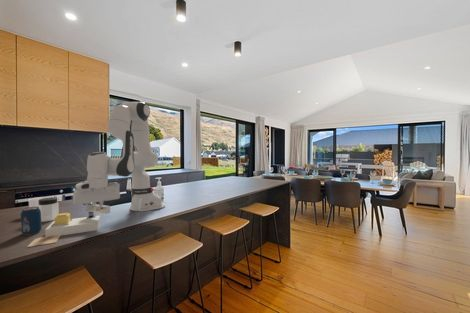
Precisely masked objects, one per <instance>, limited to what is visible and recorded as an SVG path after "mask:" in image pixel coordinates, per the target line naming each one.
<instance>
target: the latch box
mask: <svg viewBox="0 0 470 313" xmlns="http://www.w3.org/2000/svg"><path fill="white" fill-rule="evenodd" d="M100 225H101V215H94V217H89V216H86V217H85V216H84V217H83V216H82V217H78V218H77V217H75V218H70V222H69V223H66V224H59V225H55V220H53V221H52V222H51V223H50V224H49V225H48V226H46V228H45V229H44V232H45V236H44V237H50V236H56V235H61V236H68V235H74V234H80V233H87V232H88V233H89V232H95V231H98V230H99V228H100ZM61 236H60V237H61Z"/></svg>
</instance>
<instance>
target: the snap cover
mask: <svg viewBox="0 0 470 313" xmlns="http://www.w3.org/2000/svg"><path fill="white" fill-rule="evenodd" d="M54 219H55V220H54V221H55V225H59V224H66V223H69V222H70V219H71V213H69V212H63V213H59V214H58V215H57V216H56V217H55V218H54Z"/></svg>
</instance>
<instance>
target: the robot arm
mask: <svg viewBox="0 0 470 313" xmlns="http://www.w3.org/2000/svg"><path fill="white" fill-rule="evenodd" d="M150 114H151V108H150V106H149V104H147V103H146V102H143V101H129V102H119V103H116V104H115V106H114V107H113V109H112V111H111V113H110V116H109V119H108V123H107V131H108V133H109V134H110V135H111V137H114V138H116V139H117V140H120V141H121V142H122V156H121V157H115V158H114V157H111V156H109V155H108V154H107V152H105V151H94V152H90V153H89V154H88V156H87V159H86V160H87V161H86V171H87V177H86V180H84V181H82V182H79V183H76V184H75V190H74V191H73V194H72V204H73V205H74V206H79V205H85V204H88V203H92V205H93V206H94V210H95V211H99V210H101V206H102V205H104V202H107V201H113V200H114V201H115V200H119V199H120V198H121V191H120V189H121V184H120V183H119V182H117V181H114V182H112V181H110V182H109V178H108V176H114V177H115V176H118V177H123V178H124V177H129V176H131V190H130V191H131V194H130V195H131V204H130V207H129V210H130V211H134V212H146V211H153V210H157V209H158V210H159V209H164V208H165V207H166V204H165V203H164V202H163V201H162V198H161V196H159V194H157V193H155V192H154V191H155V188H154V187H151V183H150V182H151V181H150V180H151V176H150V175H149V174H148V173H147V172H146V169H149V168H153V167H156V166H157V164H158V162H159V158H158V155H157V154H156V153H155V152H154V151H153V148H152V146H151V143H150V125H149V119H148V118H149V117H150ZM134 148H136V151H135V150H134ZM145 168H146V169H145ZM97 203H98V205H99V206H98V207H96V206H95V204H97Z"/></svg>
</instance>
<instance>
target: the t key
mask: <svg viewBox="0 0 470 313" xmlns="http://www.w3.org/2000/svg"><path fill="white" fill-rule="evenodd" d="M99 205H100V204H99V203H98V204H97V203H96V204H95V206H96V207H98V206H99ZM84 206H85V208H84V210H85V212H88V217H94V216H95V215H94V213H97V214H104V215H106V214H110V213H111V206H110V205H106V204H103V205H102V206H101V210H99V211H95V210H94V206H93V205H92V203H87V204H84Z"/></svg>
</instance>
